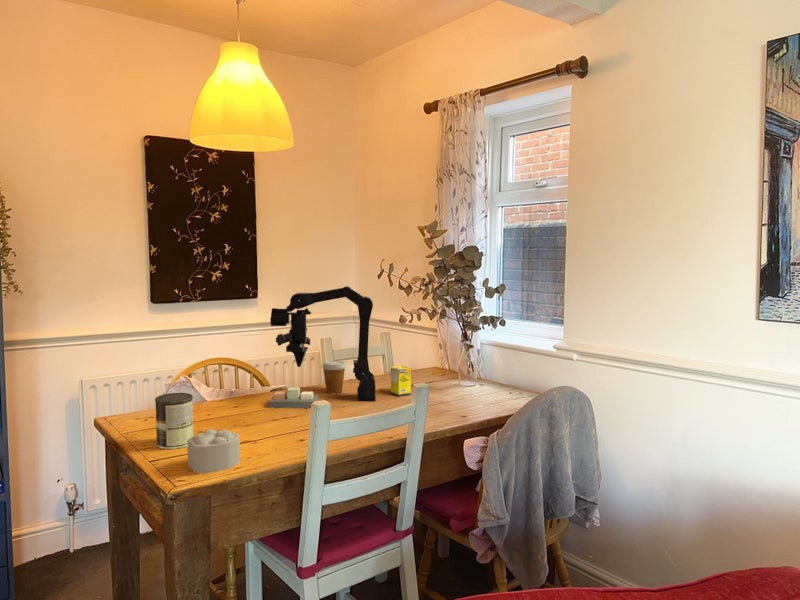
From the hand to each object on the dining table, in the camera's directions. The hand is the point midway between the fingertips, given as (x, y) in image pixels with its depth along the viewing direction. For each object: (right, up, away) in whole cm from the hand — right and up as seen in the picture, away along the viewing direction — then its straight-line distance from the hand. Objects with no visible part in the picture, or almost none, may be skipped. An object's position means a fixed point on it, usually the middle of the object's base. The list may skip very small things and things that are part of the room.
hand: (298, 366), depth 216 cm
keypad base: (-1, -13, -5) cm, 14 cm away
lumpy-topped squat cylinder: (-11, -19, -65) cm, 68 cm away
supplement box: (+39, -13, +11) cm, 42 cm away
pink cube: (-6, -13, -5) cm, 15 cm away
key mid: (-1, -12, -5) cm, 13 cm away
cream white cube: (+4, -13, -5) cm, 15 cm away
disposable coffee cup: (+12, -12, +14) cm, 22 cm away
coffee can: (-28, -17, -49) cm, 59 cm away
